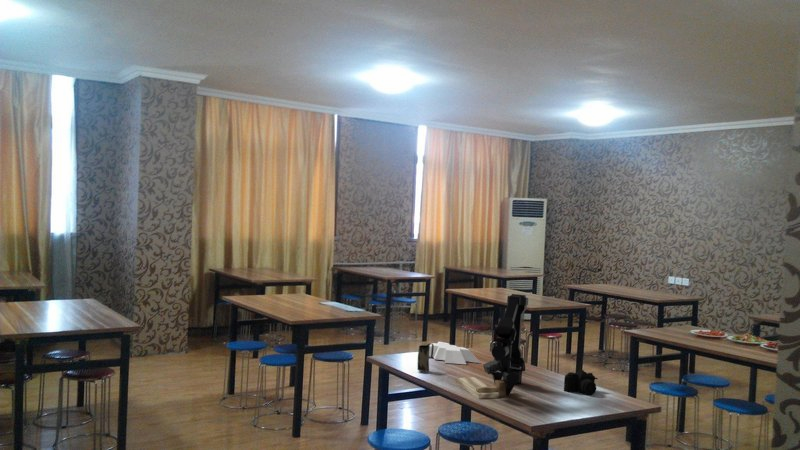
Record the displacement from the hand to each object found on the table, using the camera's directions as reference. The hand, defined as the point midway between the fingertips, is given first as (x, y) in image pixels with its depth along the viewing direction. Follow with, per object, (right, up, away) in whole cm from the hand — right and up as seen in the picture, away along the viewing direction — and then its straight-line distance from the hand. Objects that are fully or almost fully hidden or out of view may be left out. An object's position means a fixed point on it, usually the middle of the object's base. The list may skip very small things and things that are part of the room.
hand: (502, 392), depth 262 cm
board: (-10, -1, +6) cm, 12 cm away
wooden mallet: (-4, -1, -1) cm, 5 cm away
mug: (-30, +1, +36) cm, 47 cm away
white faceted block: (-18, +1, +66) cm, 68 cm away
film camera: (+36, -3, +10) cm, 38 cm away
